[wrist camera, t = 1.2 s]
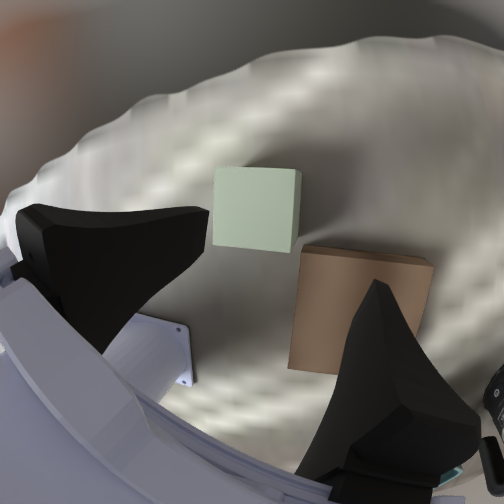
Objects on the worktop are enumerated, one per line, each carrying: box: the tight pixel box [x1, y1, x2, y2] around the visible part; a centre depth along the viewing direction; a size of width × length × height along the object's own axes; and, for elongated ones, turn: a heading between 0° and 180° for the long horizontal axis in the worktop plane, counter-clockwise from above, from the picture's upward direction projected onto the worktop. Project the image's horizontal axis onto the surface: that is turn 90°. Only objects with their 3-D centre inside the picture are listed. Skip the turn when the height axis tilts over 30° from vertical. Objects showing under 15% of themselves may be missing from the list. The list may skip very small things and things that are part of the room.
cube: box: [213, 167, 302, 253], centre depth 19 cm, size 5×5×5 cm
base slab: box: [288, 245, 434, 375], centre depth 20 cm, size 10×10×2 cm
